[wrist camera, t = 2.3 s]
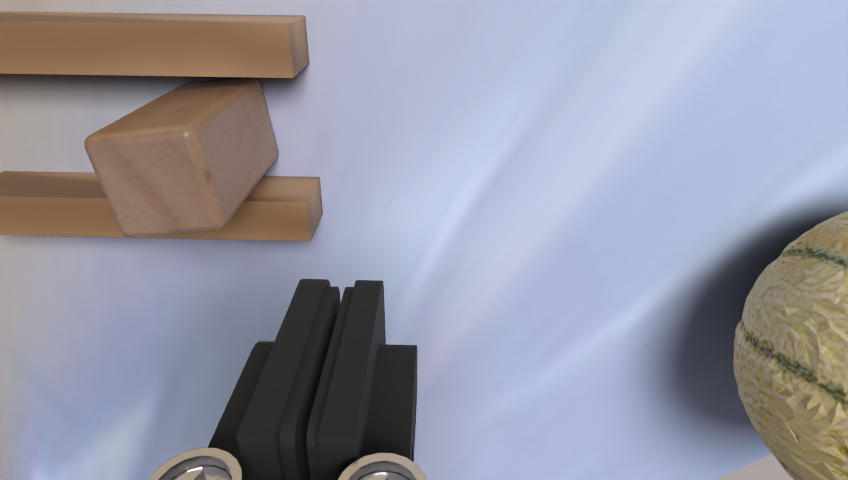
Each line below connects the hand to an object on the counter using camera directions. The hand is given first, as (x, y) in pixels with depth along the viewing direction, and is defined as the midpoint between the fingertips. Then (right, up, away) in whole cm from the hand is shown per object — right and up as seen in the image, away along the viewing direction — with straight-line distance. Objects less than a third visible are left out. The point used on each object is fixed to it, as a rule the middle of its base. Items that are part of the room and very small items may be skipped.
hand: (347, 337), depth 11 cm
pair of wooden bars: (-12, +8, +14) cm, 20 cm away
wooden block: (-8, +8, +15) cm, 18 cm away
